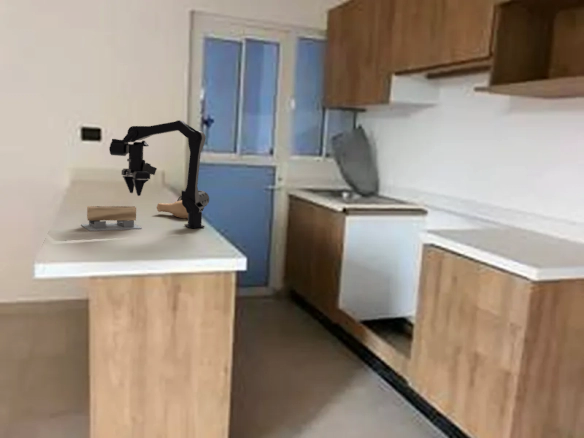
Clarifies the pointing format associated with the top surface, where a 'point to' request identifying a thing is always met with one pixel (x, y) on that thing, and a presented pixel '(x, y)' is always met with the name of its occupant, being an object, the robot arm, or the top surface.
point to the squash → (173, 209)
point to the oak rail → (111, 213)
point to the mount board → (110, 225)
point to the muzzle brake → (201, 198)
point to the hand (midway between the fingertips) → (135, 194)
